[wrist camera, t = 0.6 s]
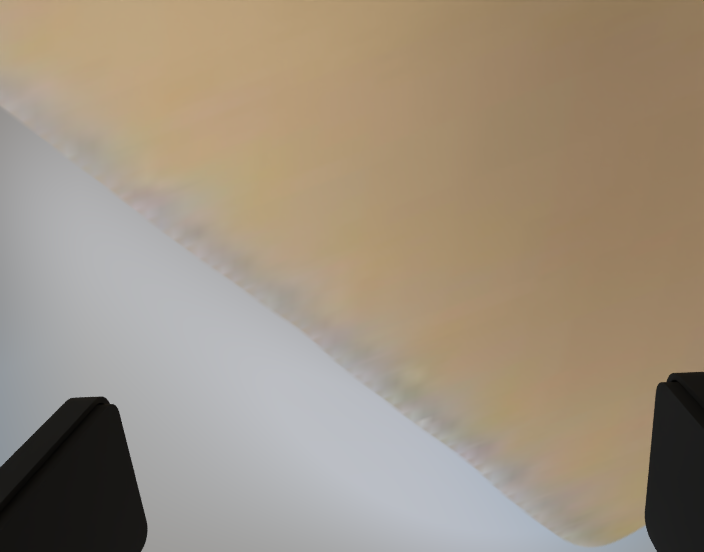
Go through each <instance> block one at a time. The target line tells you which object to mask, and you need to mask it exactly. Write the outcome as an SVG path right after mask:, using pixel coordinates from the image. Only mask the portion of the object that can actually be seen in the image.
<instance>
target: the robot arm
mask: <svg viewBox="0 0 704 552" xmlns="http://www.w3.org/2000/svg"><path fill="white" fill-rule="evenodd" d="M645 523H646V528H647V531H648V535H649V537H650V539H651V541H652V543H653V545H654V547H655V549H656V550H657V552H704V372H688V373H672V374H671V375H669V377H668V379H667V382H661V383H659V384H658V386H657V389H656V398H655V409H654V419H653V430H652V441H651V452H650V463H649V474H648V484H647V495H646V506H645ZM146 537H147V521H146V517H145V513H144V509H143V505H142V502H141V497H140V494H139V490H138V485H137V482H136V477H135V473H134V469H133V465H132V462H131V457H130V453H129V449H128V446H127V442H126V438H125V434H124V430H123V426H122V422H121V418H120V414H119V411H118V408H117V407H116V406H115V405H114V404H110V403H109V401H108V400H107V399H106V398H104V397H80V398H70V399H69V400H67V401H66V402H65V403H64V404H63V405H62V406H61V407H60V408H59V409H58V410H57V411H56V412H55V413H54V414H53V415H52V416H51V417H50V418H49V419H48V420H47V421H46V422H45V423H44V424H43V425H42V426H41V427H40V428H39V429H38V430H37V431H36V432H35V433H34V434H33V435H32V436H31V437H30V438H29V439H28V440H27V441H26V442H25V443H24V444H23V445H22V446H21V447H20V448H19V449H18V450H17V451H16V452H15V453H14V454H13V455H12V456H11V457H10V458H9V459H8V460H7V461H6V462H5V463H4V464H3V465H2V466H1V467H0V552H141V551H142V549H143V547H144V544H145V542H146Z"/></svg>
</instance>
